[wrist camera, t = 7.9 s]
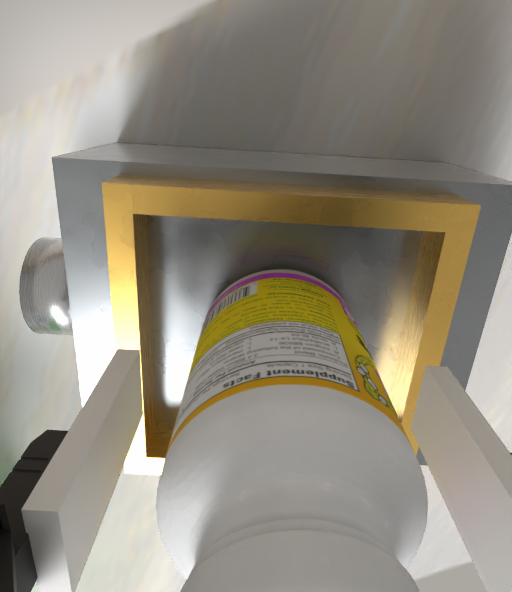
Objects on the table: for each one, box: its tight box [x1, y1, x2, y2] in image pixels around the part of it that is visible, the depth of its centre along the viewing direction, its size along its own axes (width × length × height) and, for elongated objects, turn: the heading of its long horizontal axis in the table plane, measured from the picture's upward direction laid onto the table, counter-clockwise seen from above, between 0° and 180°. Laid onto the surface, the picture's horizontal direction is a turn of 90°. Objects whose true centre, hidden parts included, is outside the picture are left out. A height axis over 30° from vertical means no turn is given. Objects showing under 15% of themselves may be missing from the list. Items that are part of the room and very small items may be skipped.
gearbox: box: [19, 142, 512, 475], centre depth 22 cm, size 21×14×10 cm, turn 87°
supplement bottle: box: [156, 269, 428, 592], centre depth 13 cm, size 7×7×13 cm
